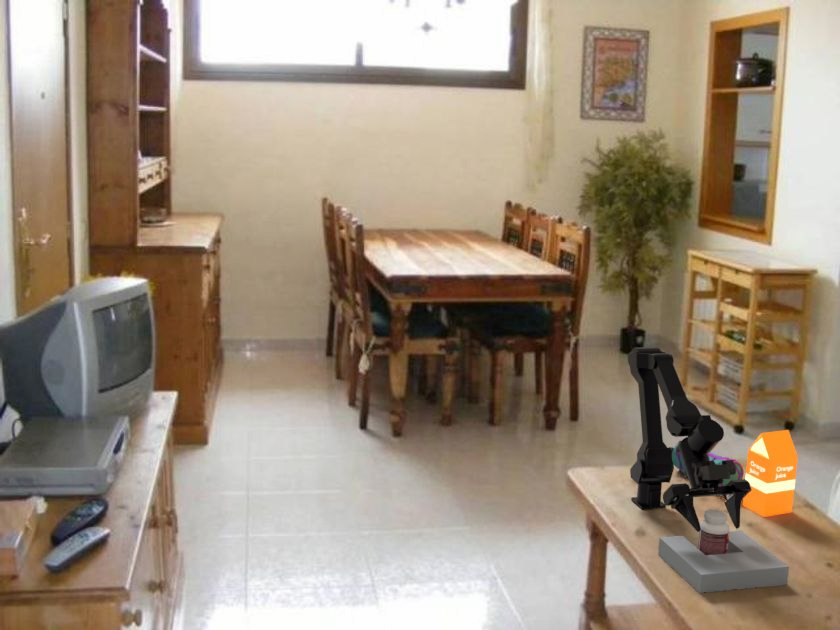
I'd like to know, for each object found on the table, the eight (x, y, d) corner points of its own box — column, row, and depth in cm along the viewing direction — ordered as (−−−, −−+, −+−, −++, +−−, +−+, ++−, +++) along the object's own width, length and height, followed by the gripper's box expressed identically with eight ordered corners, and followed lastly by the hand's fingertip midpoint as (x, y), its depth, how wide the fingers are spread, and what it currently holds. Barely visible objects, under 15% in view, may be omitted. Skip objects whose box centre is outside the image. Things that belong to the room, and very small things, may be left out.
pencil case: (666, 470, 269) (668, 436, 267) (692, 466, 273) (695, 432, 271) (717, 497, 251) (720, 461, 249) (744, 492, 254) (748, 457, 252)
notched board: (658, 554, 217) (659, 537, 216) (739, 547, 221) (741, 530, 221) (699, 593, 200) (701, 574, 199) (787, 584, 204) (789, 566, 204)
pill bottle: (731, 567, 211) (735, 519, 209) (703, 568, 211) (708, 520, 208) (719, 554, 217) (723, 507, 215) (692, 555, 217) (696, 508, 214)
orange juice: (792, 512, 242) (800, 434, 238) (763, 517, 239) (772, 438, 235) (769, 500, 249) (777, 424, 245) (741, 505, 246) (749, 428, 242)
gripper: (673, 449, 210) (694, 518, 202) (751, 444, 215) (775, 511, 207) (653, 471, 220) (673, 538, 211) (728, 466, 224) (751, 531, 216)
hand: (718, 529), depth 211 cm, fingers open, 9 cm apart
